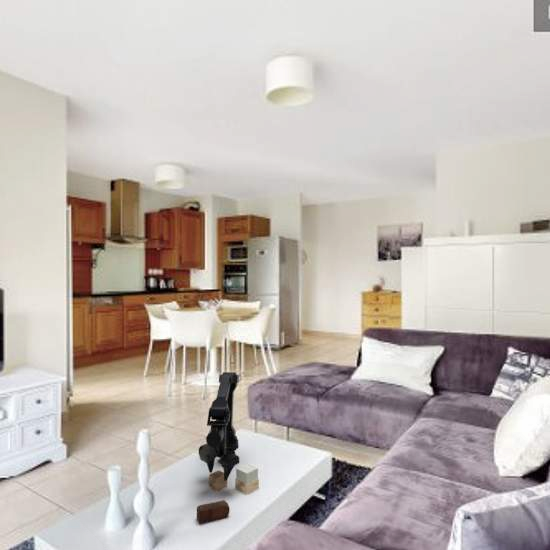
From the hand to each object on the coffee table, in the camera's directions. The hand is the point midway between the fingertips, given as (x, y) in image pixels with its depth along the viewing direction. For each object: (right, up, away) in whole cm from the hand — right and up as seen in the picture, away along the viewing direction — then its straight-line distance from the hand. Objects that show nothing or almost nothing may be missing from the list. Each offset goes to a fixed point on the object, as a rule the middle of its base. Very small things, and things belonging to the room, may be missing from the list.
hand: (218, 476), depth 163 cm
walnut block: (0, -4, 0) cm, 4 cm away
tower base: (+11, -5, -1) cm, 12 cm away
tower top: (+11, 0, -1) cm, 11 cm away
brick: (+1, -5, -21) cm, 21 cm away
